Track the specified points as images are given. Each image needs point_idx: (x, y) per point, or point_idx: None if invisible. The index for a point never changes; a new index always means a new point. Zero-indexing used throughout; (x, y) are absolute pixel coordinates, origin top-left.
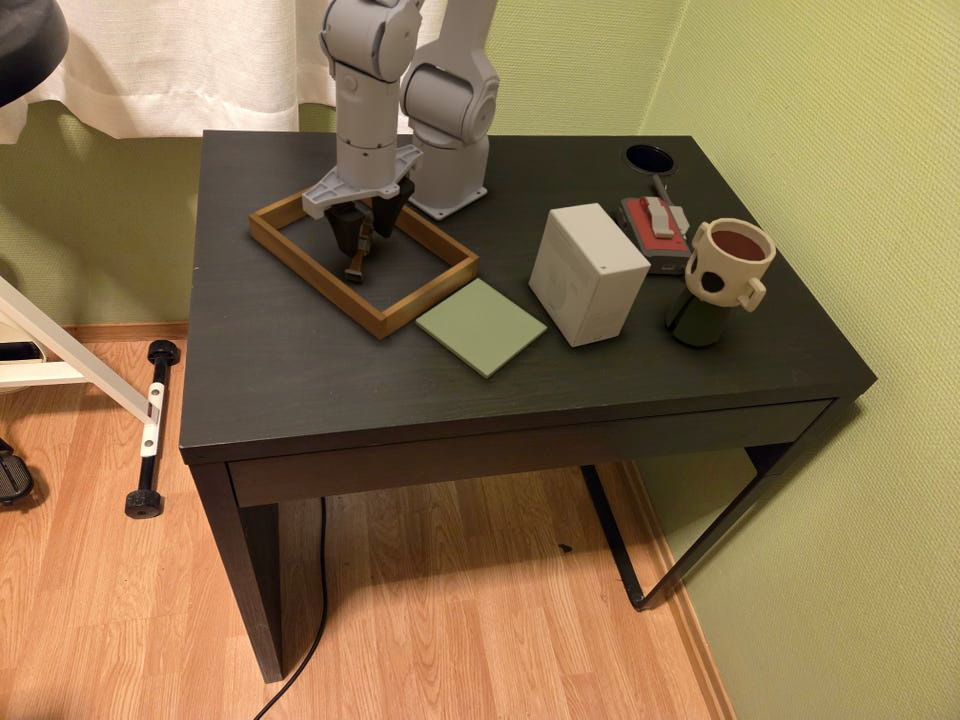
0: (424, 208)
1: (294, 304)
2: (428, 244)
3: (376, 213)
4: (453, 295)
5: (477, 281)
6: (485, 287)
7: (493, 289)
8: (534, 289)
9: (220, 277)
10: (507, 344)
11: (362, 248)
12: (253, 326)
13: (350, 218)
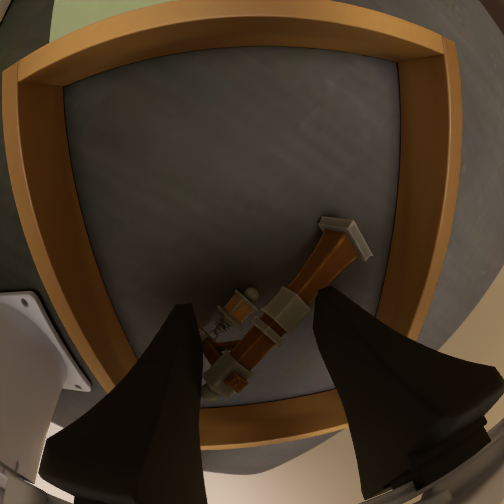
0: (50, 332)
1: None
2: (78, 235)
3: (196, 389)
4: None
5: None
6: (61, 20)
7: (54, 11)
8: (5, 1)
9: (439, 335)
10: None
11: (296, 300)
12: (486, 238)
13: (494, 398)
